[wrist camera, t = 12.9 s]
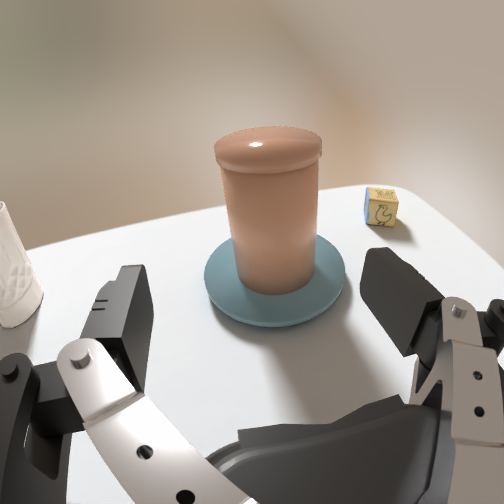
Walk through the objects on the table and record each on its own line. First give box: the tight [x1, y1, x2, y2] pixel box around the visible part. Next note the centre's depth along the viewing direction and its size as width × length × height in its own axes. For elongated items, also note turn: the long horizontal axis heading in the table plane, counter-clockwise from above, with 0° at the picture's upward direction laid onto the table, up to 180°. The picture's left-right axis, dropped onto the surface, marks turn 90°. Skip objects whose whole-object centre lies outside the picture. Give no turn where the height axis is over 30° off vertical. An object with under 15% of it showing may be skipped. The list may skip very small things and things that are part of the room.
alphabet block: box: [364, 187, 399, 227], centre depth 29 cm, size 3×3×3 cm
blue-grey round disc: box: [204, 234, 345, 327], centre depth 24 cm, size 11×11×1 cm
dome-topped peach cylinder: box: [214, 126, 322, 295], centre depth 20 cm, size 6×6×10 cm
